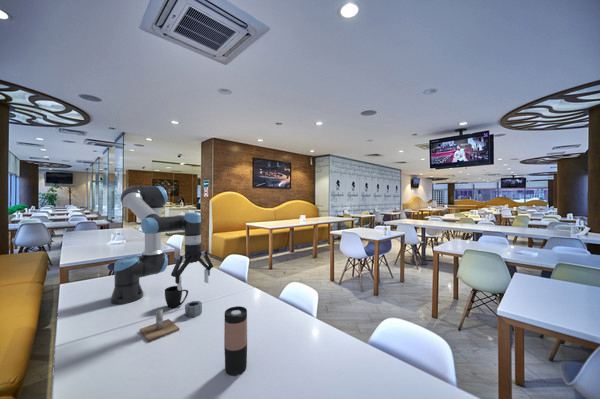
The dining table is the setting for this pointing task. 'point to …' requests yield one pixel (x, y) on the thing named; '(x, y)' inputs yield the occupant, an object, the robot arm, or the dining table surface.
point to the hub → (193, 309)
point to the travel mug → (235, 340)
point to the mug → (174, 296)
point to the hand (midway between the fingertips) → (193, 286)
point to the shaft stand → (159, 328)
